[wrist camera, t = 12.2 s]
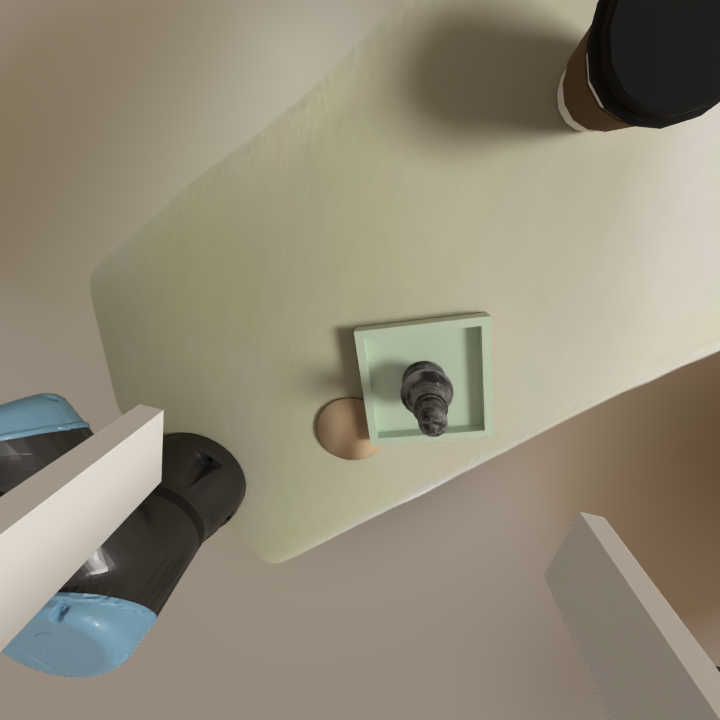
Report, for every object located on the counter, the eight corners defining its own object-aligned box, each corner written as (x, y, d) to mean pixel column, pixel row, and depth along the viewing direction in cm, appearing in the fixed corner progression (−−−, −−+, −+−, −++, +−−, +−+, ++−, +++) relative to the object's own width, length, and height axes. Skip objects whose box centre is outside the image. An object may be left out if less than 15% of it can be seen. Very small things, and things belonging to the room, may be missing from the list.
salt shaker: (412, 410, 44) (419, 469, 33) (391, 370, 43) (390, 419, 32) (456, 391, 43) (479, 447, 32) (436, 350, 42) (453, 393, 30)
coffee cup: (603, -16, 30) (728, -165, 19) (683, 80, 32) (842, -4, 21) (504, 102, 34) (561, 36, 22) (581, 184, 35) (670, 160, 24)
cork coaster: (324, 460, 49) (323, 462, 48) (312, 401, 46) (311, 402, 45) (389, 455, 48) (389, 457, 47) (381, 394, 45) (381, 396, 44)
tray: (371, 437, 47) (370, 446, 45) (355, 327, 42) (353, 331, 40) (489, 428, 45) (493, 437, 43) (486, 311, 40) (490, 315, 38)
